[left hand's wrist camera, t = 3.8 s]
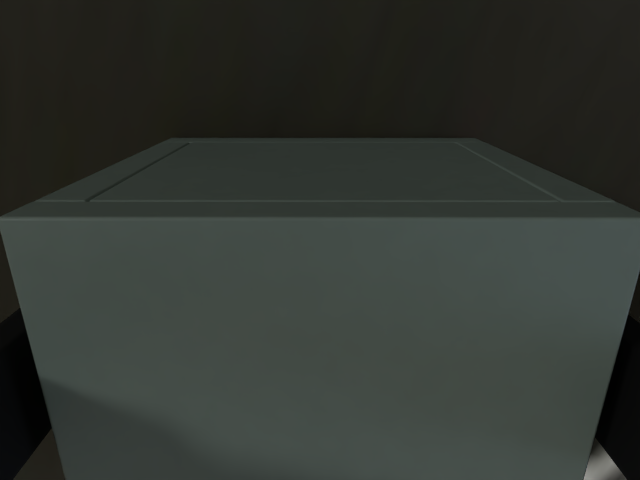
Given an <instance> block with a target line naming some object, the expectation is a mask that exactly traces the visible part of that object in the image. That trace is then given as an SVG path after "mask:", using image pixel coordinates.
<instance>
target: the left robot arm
mask: <svg viewBox="0 0 640 480" xmlns="http://www.w3.org/2000/svg"><path fill="white" fill-rule="evenodd" d="M51 428H52V426H51V422H50V419H49V415H48V411H47V407H46V403H45V399H44V396H43V392H42V388H41V384H40V380H39V376H38V373H37V369H36V365H35V361H34V357H33V354H32V350H31V346H30V342H29V338H28V334H27V331H26V327H25V323H24V319H23V315H22V311H21V308H19V309H18V310H17V311H16V312H14V313H13V314H12V315H11V316H9V317H8V318H7V319H5V320H4V321H3V322H2V323H0V480H13V479H14V477H15V476H16V475H17V473H18V472H19V471H20V469H21V468H22V467H23V465H24V464H25V463H26V461H27V460H28V459H29V457H30V456H31V455H32V453H33V452H34V451H35V449H36V448H37V447H38V445H39V444H40V443H41V441H42V440H43V439H44V437H45V436H46V435H47V433H48V432H49V431H50V429H51ZM595 437H596V439H597V440H598V441H599V443H600V444H601V445H602V447H603V448H604V449H605V451H606V452H607V453H608V455H609V456H610V457H611V459H612V460H613V461H614V463H615V464H616V465H617V467H618V468H619V469H620V471H621V472H622V473H623V475H624V476H625V477H626V479H627V480H640V323H638V322H637V321H636V320H635V319H633V318H632V317H631V316H629V315H628V316H627V320H626V324H625V327H624V331H623V335H622V338H621V342H620V346H619V349H618V353H617V357H616V361H615V364H614V368H613V372H612V375H611V379H610V383H609V386H608V390H607V394H606V398H605V401H604V405H603V409H602V412H601V416H600V420H599V423H598V427H597V431H596V435H595Z"/></svg>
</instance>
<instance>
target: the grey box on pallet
mask: <svg viewBox="0 0 640 480" xmlns="http://www.w3.org/2000/svg"><path fill="white" fill-rule="evenodd" d="M0 231H1V235H2V239H3V243H4V246H5V250H6V254H7V258H8V262H9V266H10V269H11V273H12V277H13V281H14V285H15V288H16V292H17V296H18V300H19V304H20V308H21V311H22V315H23V319H24V323H25V327H26V331H27V334H28V338H29V342H30V346H31V350H32V354H33V357H34V361H35V365H36V369H37V373H38V376H39V380H40V384H41V388H42V392H43V396H44V399H45V403H46V407H47V411H48V415H49V419H50V422H51V426H52V430H53V434H54V438H55V441H56V445H57V449H58V453H59V457H60V461H61V464H62V468H63V472H64V476H65V480H583V479H584V475H585V472H586V468H587V464H588V460H589V457H590V453H591V449H592V446H593V442H594V438H595V435H596V431H597V427H598V423H599V420H600V416H601V412H602V409H603V405H604V401H605V398H606V394H607V390H608V386H609V383H610V379H611V375H612V372H613V368H614V364H615V361H616V357H617V353H618V349H619V346H620V342H621V338H622V335H623V331H624V327H625V324H626V320H627V316H628V312H629V309H630V305H631V301H632V298H633V294H634V290H635V287H636V283H637V279H638V275H639V272H640V212H638V211H636V210H633V209H631V208H629V207H627V206H625V205H622V204H620V203H618V202H615V201H614V200H611V199H609V198H607V197H605V196H603V195H600V194H598V193H596V192H594V191H592V190H589V189H587V188H585V187H583V186H581V185H578V184H576V183H574V182H572V181H569V180H567V179H565V178H563V177H561V176H558V175H556V174H554V173H552V172H550V171H547V170H545V169H543V168H541V167H539V166H536V165H534V164H532V163H530V162H527V161H525V160H523V159H521V158H519V157H516V156H514V155H512V154H510V153H508V152H505V151H503V150H501V149H499V148H497V147H494V146H492V145H490V144H488V143H485V142H482V141H480V140H478V139H476V138H170V139H168V140H166V141H164V142H161V143H159V144H157V145H155V146H153V147H151V148H148V149H146V150H144V151H142V152H140V153H138V154H135V155H133V156H131V157H129V158H127V159H125V160H122V161H120V162H118V163H116V164H114V165H112V166H109V167H107V168H105V169H103V170H101V171H99V172H96V173H94V174H92V175H90V176H88V177H86V178H83V179H81V180H79V181H77V182H75V183H73V184H70V185H68V186H66V187H64V188H62V189H60V190H57V191H55V192H53V193H51V194H49V195H47V196H44V197H42V198H40V199H38V200H36V201H35V202H31V203H29V204H27V205H24V206H22V207H20V208H18V209H16V210H13V211H11V212H9V213H7V214H5V215H3V216H0Z"/></svg>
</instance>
